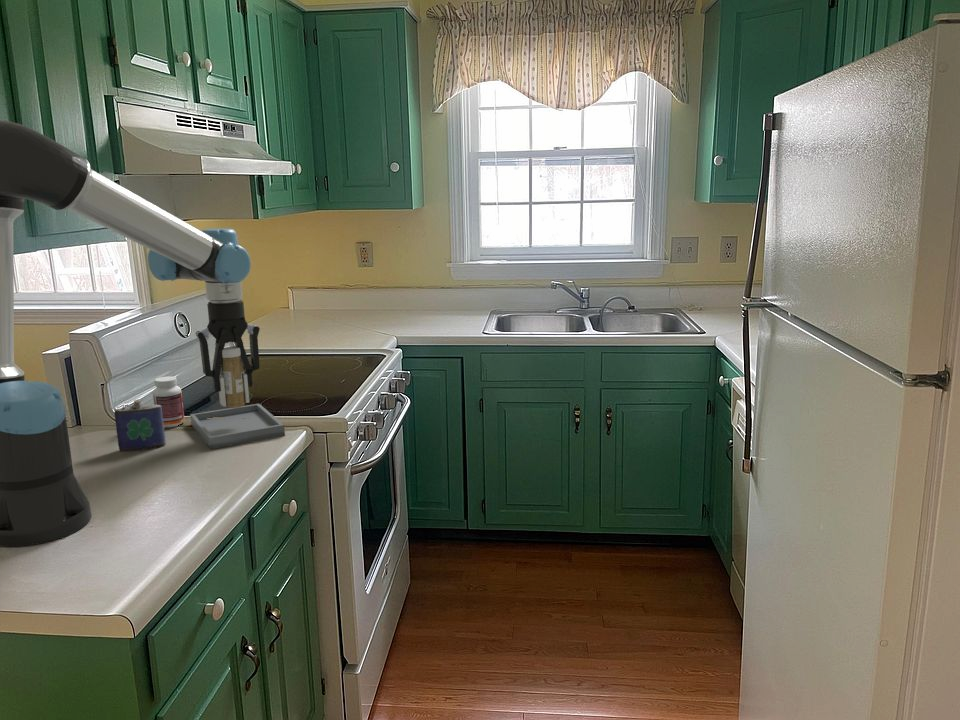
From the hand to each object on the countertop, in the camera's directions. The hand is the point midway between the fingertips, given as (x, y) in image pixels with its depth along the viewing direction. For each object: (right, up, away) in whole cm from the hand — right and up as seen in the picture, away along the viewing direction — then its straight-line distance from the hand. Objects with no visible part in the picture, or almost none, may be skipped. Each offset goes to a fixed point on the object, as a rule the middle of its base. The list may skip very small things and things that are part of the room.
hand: (234, 402), depth 171 cm
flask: (-17, -9, -9) cm, 21 cm away
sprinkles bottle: (0, -1, 0) cm, 1 cm away
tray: (0, -6, +1) cm, 6 cm away
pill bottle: (-17, -6, +6) cm, 19 cm away
